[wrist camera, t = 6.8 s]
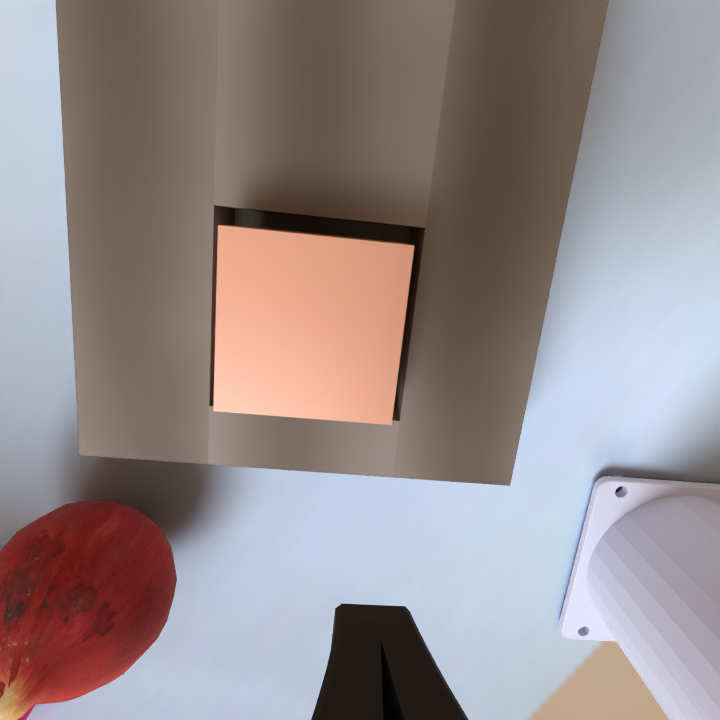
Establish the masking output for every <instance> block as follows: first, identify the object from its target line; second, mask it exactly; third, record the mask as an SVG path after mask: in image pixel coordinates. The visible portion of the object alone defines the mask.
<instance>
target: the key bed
mask: <svg viewBox="0 0 720 720" xmlns="http://www.w3.org/2000/svg"><path fill="white" fill-rule="evenodd" d="M608 1H609V0H56V15H57V34H58V53H59V73H60V92H61V111H62V130H63V149H64V168H65V188H66V207H67V226H68V245H69V264H70V283H71V303H72V322H73V341H74V360H75V379H76V398H77V418H78V437H79V455H83V456H97V457H111V458H126V459H140V460H154V461H168V462H182V463H197V464H211V465H225V466H239V467H253V468H268V469H282V470H296V471H310V472H324V473H339V474H353V475H367V476H381V477H395V478H409V479H424V480H438V481H452V482H466V483H480V484H495V485H509V486H510V483H511V478H512V473H513V469H514V464H515V459H516V454H517V449H518V444H519V439H520V434H521V429H522V424H523V419H524V414H525V409H526V405H527V400H528V395H529V390H530V385H531V380H532V375H533V370H534V365H535V360H536V355H537V350H538V345H539V340H540V336H541V331H542V326H543V321H544V316H545V311H546V306H547V301H548V296H549V291H550V286H551V281H552V276H553V271H554V267H555V262H556V257H557V252H558V247H559V242H560V237H561V232H562V227H563V222H564V217H565V212H566V207H567V203H568V198H569V193H570V188H571V183H572V178H573V173H574V168H575V163H576V158H577V153H578V148H579V143H580V138H581V134H582V129H583V124H584V119H585V114H586V109H587V104H588V99H589V94H590V89H591V84H592V79H593V74H594V70H595V65H596V60H597V55H598V50H599V45H600V40H601V35H602V30H603V25H604V20H605V15H606V10H607V5H608ZM218 225H237V226H250V227H259V228H269V229H279V230H288V231H298V232H307V233H317V234H326V235H336V236H345V237H355V238H365V239H374V240H384V241H393V242H401V243H405V244H410V245H414V253H413V261H412V269H411V277H410V284H409V292H408V300H407V308H406V316H405V324H404V331H403V339H402V347H401V355H400V363H399V370H398V378H397V386H396V394H395V402H394V410H393V417H392V425H385V424H372V423H359V422H346V421H333V420H321V419H308V418H295V417H282V416H269V415H257V414H244V413H231V412H218V411H213V405H214V365H215V326H216V286H217V247H218Z"/></svg>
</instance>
